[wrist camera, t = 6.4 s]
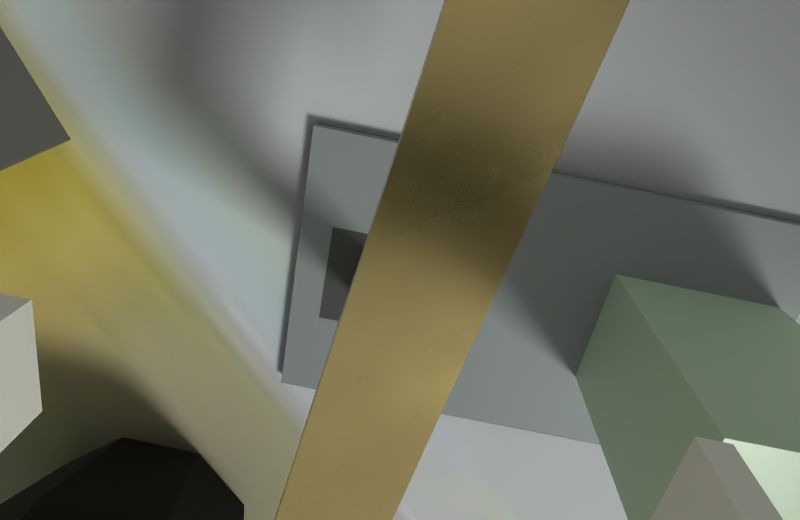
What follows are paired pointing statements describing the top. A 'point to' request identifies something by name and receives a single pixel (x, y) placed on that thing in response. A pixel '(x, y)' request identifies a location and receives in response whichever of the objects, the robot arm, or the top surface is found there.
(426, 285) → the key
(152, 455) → the bottle
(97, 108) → the top surface
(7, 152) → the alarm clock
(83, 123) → the top surface
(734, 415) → the pale green block
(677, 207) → the plate
